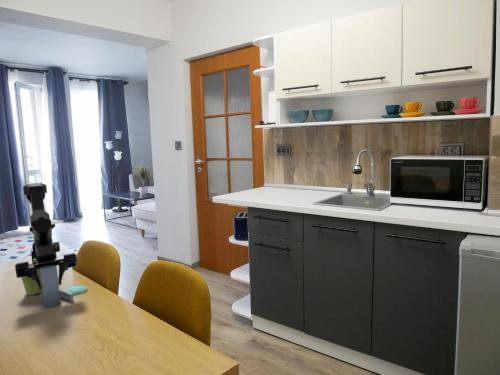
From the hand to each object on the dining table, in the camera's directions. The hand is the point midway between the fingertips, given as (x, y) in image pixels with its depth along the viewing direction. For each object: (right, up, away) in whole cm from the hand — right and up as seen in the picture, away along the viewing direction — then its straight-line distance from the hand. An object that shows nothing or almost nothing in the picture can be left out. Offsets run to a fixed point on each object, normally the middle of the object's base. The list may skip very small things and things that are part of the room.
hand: (50, 286), depth 127 cm
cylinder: (-1, -6, +2) cm, 7 cm away
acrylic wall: (+1, -6, +7) cm, 9 cm away
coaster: (+3, -5, +12) cm, 14 cm away
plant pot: (-12, -6, +13) cm, 19 cm away
